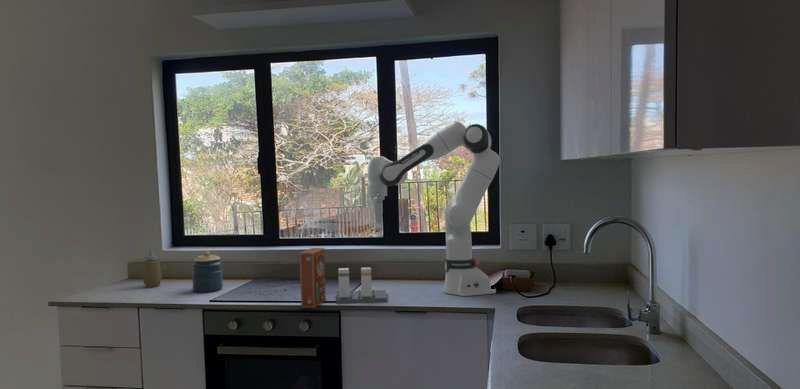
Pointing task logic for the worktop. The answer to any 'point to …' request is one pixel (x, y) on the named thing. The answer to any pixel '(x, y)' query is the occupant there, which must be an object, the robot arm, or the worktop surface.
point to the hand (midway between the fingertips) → (378, 222)
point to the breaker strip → (355, 296)
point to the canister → (207, 273)
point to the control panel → (312, 277)
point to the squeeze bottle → (152, 271)
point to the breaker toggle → (366, 281)
